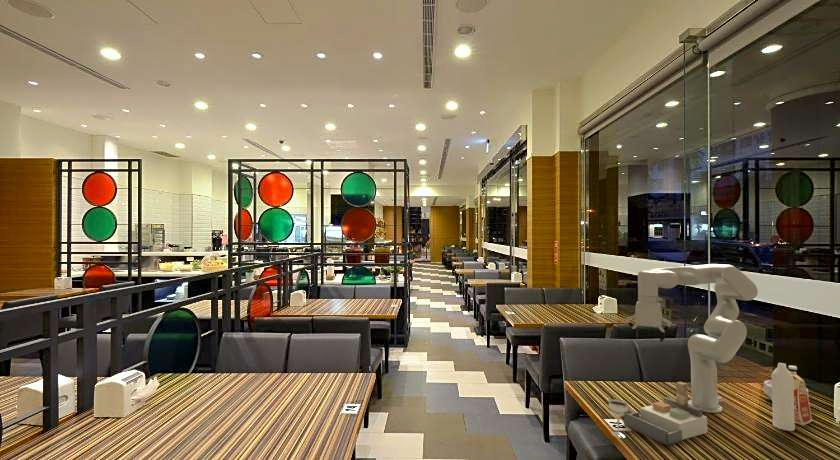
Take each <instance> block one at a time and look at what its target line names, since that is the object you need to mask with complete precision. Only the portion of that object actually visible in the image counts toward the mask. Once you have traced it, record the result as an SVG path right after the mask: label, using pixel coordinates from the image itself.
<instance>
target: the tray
mask: <svg viewBox="0 0 840 460" xmlns="http://www.w3.org/2000/svg"><path fill="white" fill-rule="evenodd" d="M624 425H625V427H626V428H628V429H631V430H633V431H635V432H637V433H639V434H641V435H643V436H646V437H648V438H650V439H652V440H654V441H656V442H658V443H660V444H662V445H664V446H667V447H668V446H672V445H676V444H679V443H682V442H683V440H682V430H678V431H674V432H670V433H668V431H666V430H664V429H662V428H659V427H657V426H655V425H653V424H650V423H648V422H646V421H644V420H641V418H640V412H639V411H637V412H631V413H627V414H626V415H625V416H623V426H624Z"/></svg>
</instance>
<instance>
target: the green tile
mask: <svg viewBox="0 0 840 460" xmlns="http://www.w3.org/2000/svg"><path fill="white" fill-rule="evenodd" d="M669 415H671V416H673V417H676V418H678V419H685V418H689V412H687V411H684V410H682V409H679V408H674V409H670V410H669Z"/></svg>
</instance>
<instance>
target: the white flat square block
mask: <svg viewBox="0 0 840 460" xmlns="http://www.w3.org/2000/svg"><path fill="white" fill-rule="evenodd" d="M671 409H674V408H672V407H671ZM639 411H640V419H641V420H644V421H646V422H648V423H650V424H653V425H655V426H657V427H659V428H662V429H664V430H666V431H668V433H670V432H674V431H678V430H682V441H684V440H686V439H689V438H694V437H697V436H700V435H704V434H708V416H706V415H704V414H702V416H701V417H696V416H693V415H691V414H689V418H685V419H678V418H676V417H673V416H671V415H669V411H668V412H661V411H658V410H656V409H653V404H652V405H648V406H647V405H646V406H643V407H640V410H639Z"/></svg>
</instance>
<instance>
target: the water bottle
mask: <svg viewBox="0 0 840 460" xmlns="http://www.w3.org/2000/svg"><path fill="white" fill-rule="evenodd" d="M787 367H788V368H787ZM790 370H791V371H792V370H794V371H797V370H798V367H797V365H788V366H787V363H784V362H778V363H777V367H775V368H774V370H773V371H772V373H771V380H772V398H773V399H772V400H771V401H772V402H771V403H772V405H771V407H772V425H773V427H774V428H777V429H779V430H783V431H786V432H787V431H789V432H794V431H795V429H796V423H794V422H795V419H794V386H793V385H794V384H793V381H794V379H793V376H792V374H791V373H790V372H789V371H790Z"/></svg>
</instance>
